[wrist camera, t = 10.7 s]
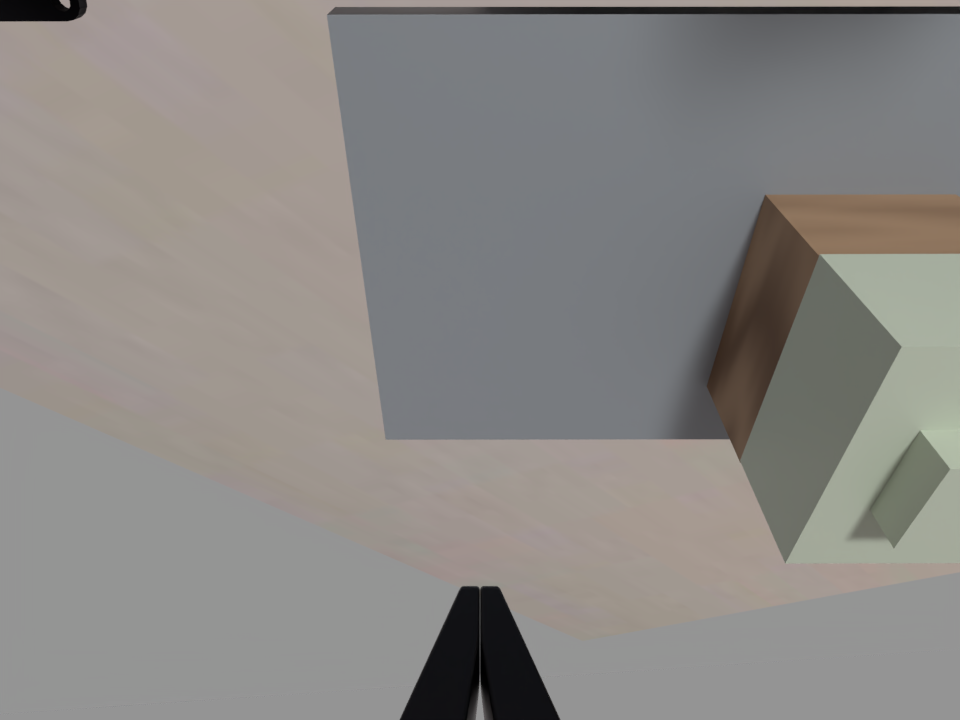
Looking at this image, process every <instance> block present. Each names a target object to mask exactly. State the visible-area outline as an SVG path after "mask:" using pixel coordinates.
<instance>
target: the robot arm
mask: <svg viewBox="0 0 960 720" xmlns="http://www.w3.org/2000/svg"><path fill="white" fill-rule="evenodd" d="M69 1H70V7H69V8H67V7H65V6H64V5H63V4H61V2H60V0H0V22H17V21H72V20H75V19H78V18H80V17H82V16H83V15H84V14H85V13H86V9H87V1H86V0H69ZM479 686H481V697H482V705H483V713H484V720H560V718H559V715H558V713H557V711H556V709H555V707H554V704H553V702H552V700H551V698H550V696H549V694H548V692H547V689H546V687H545V685H544V683H543V681H542V678H541V676H540V674H539V672H538V670H537V667H536V665H535V663H534V661H533V659H532V657H531V654H530V652H529V650H528V648H527V646H526V643H525V641H524V639H523V637H522V635H521V633H520V630H519V628H518V626H517V624H516V622H515V620H514V617H513V615H512V613H511V611H510V609H509V606H508V604H507V602H506V600H505V598H504V596H503V593H502V591H501V589H500V588H499V587H498V586H482V587H481V588H479V587H478V586H462V587H461V588H460V589H459V591H458V593H457V596H456V598H455V600H454V602H453V604H452V606H451V609H450V611H449V613H448V615H447V617H446V620H445V622H444V624H443V626H442V628H441V630H440V633H439V635H438V637H437V639H436V641H435V643H434V646H433V648H432V650H431V652H430V654H429V657H428V659H427V661H426V663H425V665H424V667H423V670H422V672H421V674H420V676H419V678H418V680H417V683H416V685H415V687H414V689H413V691H412V694H411V696H410V698H409V700H408V702H407V704H406V707H405V709H404V711H403V713H402V715H401V718H400V720H476V712H477V704H478V696H479Z"/></svg>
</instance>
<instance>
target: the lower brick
mask: <svg viewBox="0 0 960 720" xmlns="http://www.w3.org/2000/svg"><path fill="white" fill-rule="evenodd" d="M820 254H960V197H959V196H958V195H956V194H875V195H765V197H764V200H763V203H762V207H761V210H760V213H759V217H758V220H757V223H756V226H755V230H754V233H753V236H752V240H751V243H750V246H749V249H748V253H747V256H746V259H745V262H744V266H743V269H742V272H741V276H740V279H739V282H738V285H737V289H736V292H735V295H734V298H733V302H732V305H731V308H730V312H729V315H728V318H727V321H726V325H725V328H724V331H723V334H722V338H721V341H720V344H719V348H718V351H717V354H716V357H715V361H714V364H713V367H712V371H711V374H710V377H709V380H708V384H707V388H708V391H709V393H710V395H711V397H712V400H713V402H714V404H715V407H716V409H717V411H718V413H719V416H720V418H721V420H722V423H723V425H724V427H725V429H726V432H727V434H728V436H729V438H730V441H731V443H732V445H733V448H734V450H735V452H736V454H737V457H738V459H739V461H740V459H741V457H742V454H743V452H744V449H745V446H746V444H747V441H748V439H749V436H750V434H751V431H752V428H753V426H754V423H755V421H756V418H757V415H758V413H759V410H760V408H761V405H762V403H763V400H764V397H765V395H766V392H767V390H768V387H769V384H770V382H771V379H772V377H773V374H774V371H775V369H776V366H777V364H778V361H779V359H780V356H781V353H782V351H783V348H784V346H785V343H786V340H787V338H788V335H789V333H790V330H791V327H792V325H793V322H794V320H795V317H796V315H797V312H798V309H799V307H800V304H801V302H802V299H803V296H804V294H805V291H806V289H807V286H808V283H809V281H810V278H811V276H812V273H813V271H814V268H815V265H816V263H817V260H818V258H819V255H820ZM740 463H741V462H740Z"/></svg>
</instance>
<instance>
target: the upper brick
mask: <svg viewBox="0 0 960 720" xmlns="http://www.w3.org/2000/svg"><path fill="white" fill-rule="evenodd" d="M740 462H741V464H742V466H743V469H744V471H745V473H746V476H747V478H748V480H749V482H750V485H751V487H752V489H753V491H754V494H755V496H756V498H757V501H758V503H759V505H760V507H761V510H762V512H763V514H764V516H765V519H766V521H767V523H768V526H769V528H770V530H771V532H772V535H773V537H774V539H775V541H776V544H777V546H778V548H779V551H780V553H781V555H782V557H783V560H784V562H785V564H819V563H960V254H820V255H819V258H818V260H817V263H816V265H815V268H814V271H813V273H812V276H811V278H810V281H809V283H808V286H807V289H806V291H805V294H804V296H803V299H802V302H801V304H800V307H799V309H798V312H797V315H796V317H795V320H794V322H793V325H792V327H791V330H790V333H789V335H788V338H787V340H786V343H785V346H784V348H783V351H782V353H781V356H780V359H779V361H778V364H777V366H776V369H775V371H774V374H773V377H772V379H771V382H770V384H769V387H768V390H767V392H766V395H765V397H764V400H763V403H762V405H761V408H760V410H759V413H758V415H757V418H756V421H755V423H754V426H753V428H752V431H751V434H750V436H749V439H748V441H747V444H746V446H745V449H744V452H743V454H742V457H741V459H740Z"/></svg>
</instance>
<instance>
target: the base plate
mask: <svg viewBox="0 0 960 720" xmlns="http://www.w3.org/2000/svg"><path fill="white" fill-rule="evenodd" d="M327 20H328V27H329V34H330V41H331V49H332V56H333V63H334V70H335V77H336V85H337V92H338V99H339V106H340V114H341V121H342V128H343V135H344V142H345V150H346V157H347V164H348V171H349V179H350V186H351V193H352V200H353V207H354V215H355V222H356V229H357V236H358V244H359V251H360V258H361V265H362V272H363V280H364V287H365V294H366V301H367V309H368V316H369V323H370V330H371V337H372V345H373V352H374V359H375V366H376V374H377V381H378V388H379V395H380V402H381V410H382V417H383V424H384V431H385V439H386V440H600V439H730V438H729V436H728V434H727V432H726V429H725V427H724V425H723V423H722V420H721V418H720V416H719V413H718V411H717V409H716V407H715V404H714V402H713V400H712V397H711V395H710V393H709V391H708V388H707V384H708V380H709V377H710V374H711V371H712V367H713V364H714V361H715V357H716V354H717V351H718V348H719V344H720V341H721V338H722V334H723V331H724V328H725V325H726V321H727V318H728V315H729V312H730V308H731V305H732V302H733V298H734V295H735V292H736V289H737V285H738V282H739V279H740V276H741V272H742V269H743V266H744V262H745V259H746V256H747V253H748V249H749V246H750V243H751V240H752V236H753V233H754V230H755V226H756V223H757V220H758V217H759V213H760V210H761V207H762V203H763V200H764V197H765V195H875V194H956V195H958V196H959V197H960V6H801V7H335V8H334V9H333V10H331V11H330V12H329V13H328V14H327Z"/></svg>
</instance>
